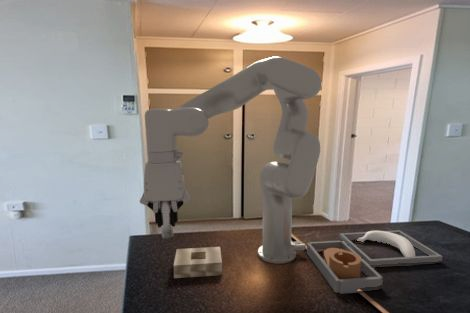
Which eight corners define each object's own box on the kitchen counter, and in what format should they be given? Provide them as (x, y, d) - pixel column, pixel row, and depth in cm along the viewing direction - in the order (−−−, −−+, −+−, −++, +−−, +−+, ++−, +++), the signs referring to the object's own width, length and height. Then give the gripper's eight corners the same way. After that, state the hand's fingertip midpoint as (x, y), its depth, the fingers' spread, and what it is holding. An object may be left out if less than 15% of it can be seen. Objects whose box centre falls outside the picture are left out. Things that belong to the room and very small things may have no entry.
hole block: (220, 258, 95) (220, 246, 94) (222, 275, 85) (221, 262, 84) (177, 260, 93) (176, 249, 93) (174, 278, 83) (173, 265, 83)
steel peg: (173, 233, 79) (171, 198, 77) (172, 237, 76) (170, 201, 74) (162, 233, 78) (160, 198, 77) (161, 238, 75) (158, 202, 74)
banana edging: (399, 236, 110) (399, 230, 109) (441, 263, 90) (442, 256, 90) (339, 239, 107) (339, 233, 107) (369, 268, 87) (370, 261, 87)
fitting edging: (342, 249, 100) (342, 240, 99) (382, 290, 77) (383, 278, 76) (306, 251, 98) (306, 242, 98) (336, 294, 76) (337, 281, 75)
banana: (426, 263, 90) (381, 265, 89) (389, 239, 108) (352, 241, 107) (427, 248, 89) (381, 250, 88) (390, 227, 108) (352, 228, 107)
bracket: (363, 289, 78) (364, 265, 77) (331, 287, 79) (332, 263, 78) (347, 256, 95) (348, 236, 94) (321, 254, 97) (322, 235, 95)
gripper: (195, 154, 78) (198, 218, 81) (133, 156, 76) (138, 221, 79) (194, 158, 71) (197, 228, 74) (126, 161, 69) (132, 232, 72)
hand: (167, 224), depth 77 cm, fingers closed on steel peg, 3 cm apart
